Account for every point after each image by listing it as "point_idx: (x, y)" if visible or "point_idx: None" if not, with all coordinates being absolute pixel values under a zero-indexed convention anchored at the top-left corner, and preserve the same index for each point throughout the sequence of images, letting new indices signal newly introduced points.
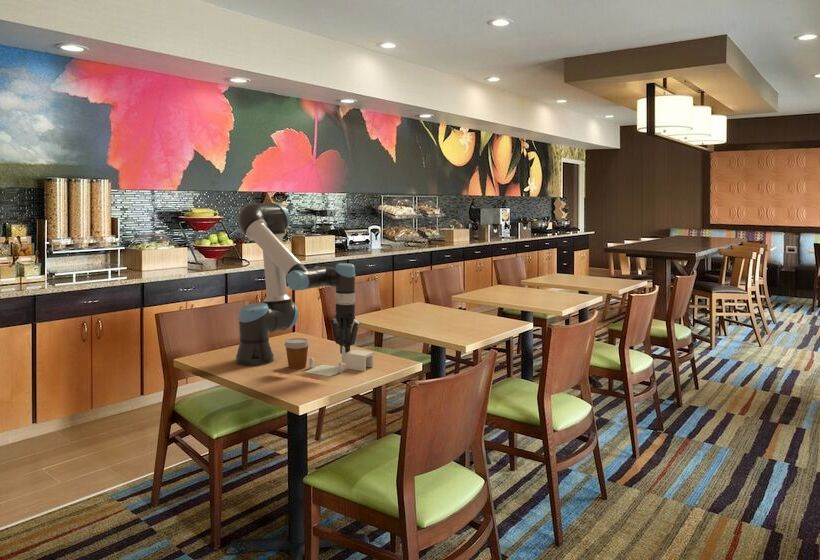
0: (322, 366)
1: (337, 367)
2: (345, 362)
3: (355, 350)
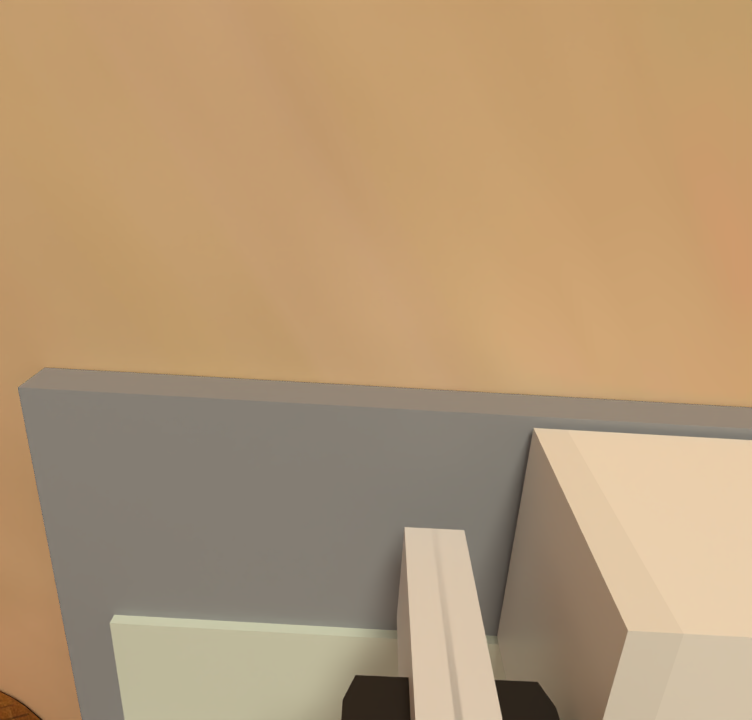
0: (180, 687)
1: (386, 659)
2: None
3: (693, 694)
